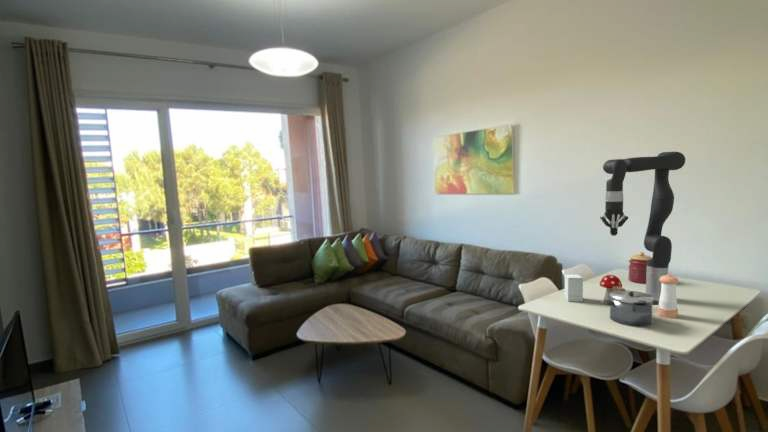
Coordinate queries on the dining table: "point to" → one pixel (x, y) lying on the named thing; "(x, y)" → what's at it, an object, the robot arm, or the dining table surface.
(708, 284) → the dining table surface
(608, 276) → the decorative mushroom
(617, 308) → the cooker pot
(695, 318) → the dining table surface
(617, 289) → the cooker lid
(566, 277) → the supplement box
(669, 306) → the pepper shaker
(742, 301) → the dining table surface
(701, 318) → the dining table surface
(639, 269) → the canister
